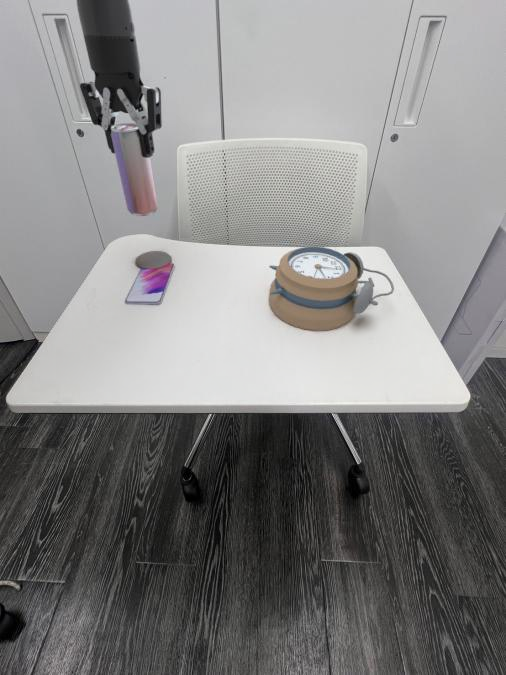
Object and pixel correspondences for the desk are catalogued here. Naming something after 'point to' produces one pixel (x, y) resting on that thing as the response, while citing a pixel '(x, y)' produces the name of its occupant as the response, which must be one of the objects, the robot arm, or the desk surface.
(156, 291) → the smartphone
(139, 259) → the coaster
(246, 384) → the desk surface
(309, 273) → the alarm clock
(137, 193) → the beverage can
